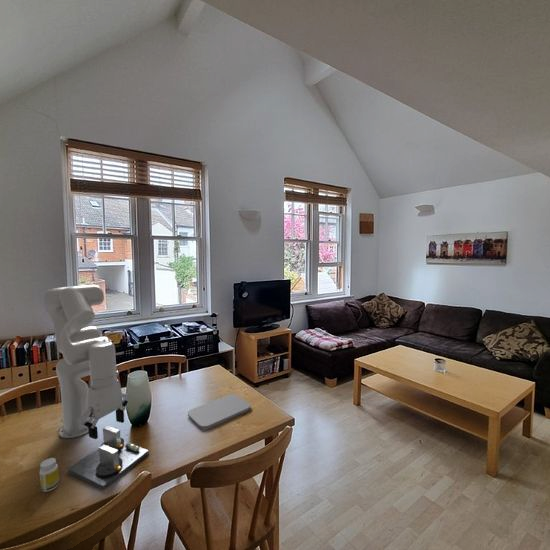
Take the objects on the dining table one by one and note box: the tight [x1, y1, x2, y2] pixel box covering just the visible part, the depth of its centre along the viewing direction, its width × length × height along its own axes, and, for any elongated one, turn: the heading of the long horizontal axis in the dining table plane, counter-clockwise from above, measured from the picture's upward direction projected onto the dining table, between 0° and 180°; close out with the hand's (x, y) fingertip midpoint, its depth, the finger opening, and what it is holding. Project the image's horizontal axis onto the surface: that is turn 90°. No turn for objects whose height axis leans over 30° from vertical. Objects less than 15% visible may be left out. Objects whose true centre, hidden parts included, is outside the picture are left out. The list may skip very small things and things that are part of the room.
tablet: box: [187, 393, 251, 430], centre depth 139 cm, size 16×26×2 cm, turn 131°
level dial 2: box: [99, 425, 125, 450], centre depth 113 cm, size 9×8×7 cm
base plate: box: [67, 440, 149, 491], centre depth 107 cm, size 18×18×3 cm
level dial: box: [96, 445, 123, 477], centre depth 103 cm, size 9×8×7 cm
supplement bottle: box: [38, 457, 60, 493], centre depth 97 cm, size 5×5×8 cm
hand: (107, 429), depth 101 cm, fingers open, 9 cm apart
